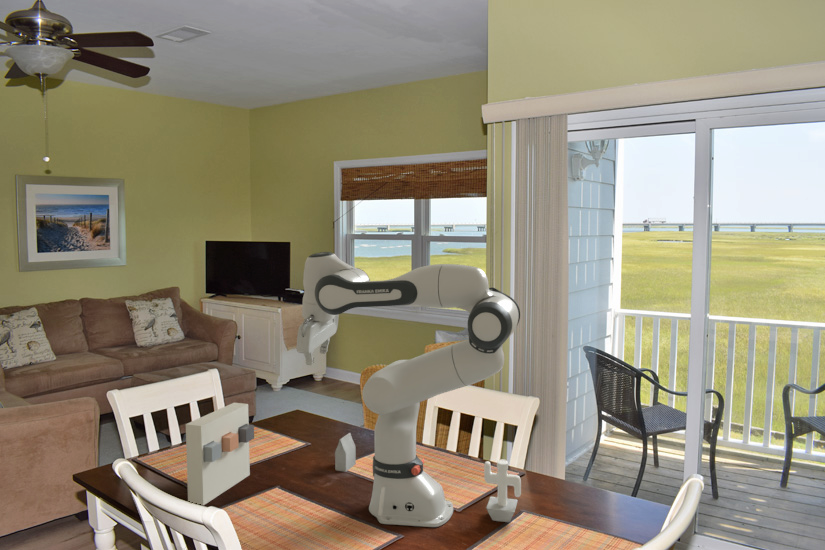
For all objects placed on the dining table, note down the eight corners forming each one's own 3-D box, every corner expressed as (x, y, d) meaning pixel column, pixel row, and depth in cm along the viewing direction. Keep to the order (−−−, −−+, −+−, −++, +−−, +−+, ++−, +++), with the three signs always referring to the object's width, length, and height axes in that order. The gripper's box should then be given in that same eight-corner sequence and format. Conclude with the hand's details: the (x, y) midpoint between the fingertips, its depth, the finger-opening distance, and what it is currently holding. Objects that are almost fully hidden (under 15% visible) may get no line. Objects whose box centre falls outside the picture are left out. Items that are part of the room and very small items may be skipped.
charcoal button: (254, 438, 186) (253, 425, 186) (246, 442, 182) (246, 429, 182) (242, 436, 187) (242, 423, 187) (234, 441, 184) (234, 428, 183)
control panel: (249, 474, 189) (248, 404, 187) (203, 505, 168) (201, 426, 166) (235, 472, 190) (234, 402, 189) (188, 502, 170) (185, 424, 168)
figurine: (518, 526, 156) (519, 468, 155) (481, 521, 159) (482, 464, 157) (522, 513, 163) (522, 458, 162) (486, 509, 165) (486, 454, 164)
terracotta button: (238, 447, 179) (238, 433, 178) (230, 452, 175) (229, 438, 175) (226, 445, 180) (226, 432, 180) (218, 450, 176) (217, 436, 176)
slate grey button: (221, 457, 171) (221, 442, 171) (212, 462, 167) (211, 447, 167) (209, 455, 172) (208, 441, 172) (199, 460, 169) (199, 446, 168)
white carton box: (355, 464, 197) (355, 433, 197) (346, 471, 191) (345, 440, 190) (345, 462, 199) (344, 432, 198) (335, 470, 192) (334, 438, 192)
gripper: (313, 322, 158) (312, 373, 161) (343, 303, 177) (340, 348, 180) (291, 319, 159) (289, 369, 163) (322, 300, 179) (320, 345, 182)
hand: (316, 358), depth 172 cm, fingers open, 8 cm apart
